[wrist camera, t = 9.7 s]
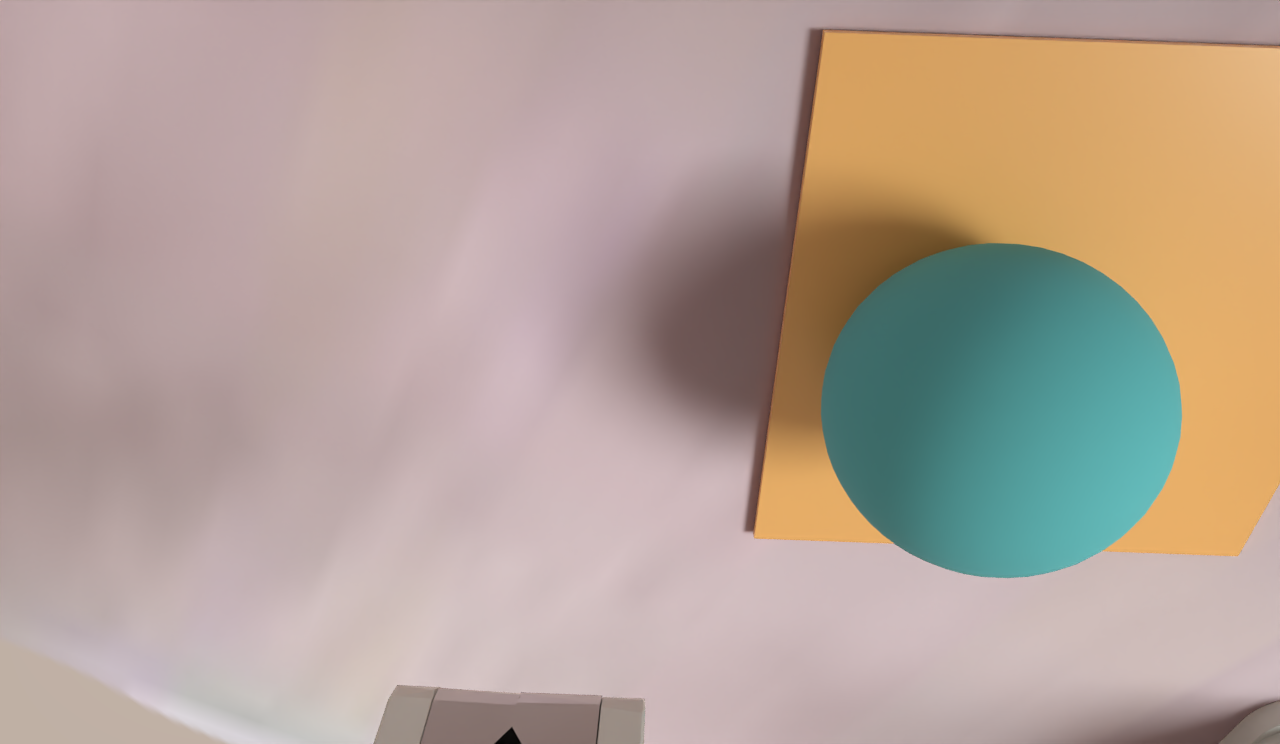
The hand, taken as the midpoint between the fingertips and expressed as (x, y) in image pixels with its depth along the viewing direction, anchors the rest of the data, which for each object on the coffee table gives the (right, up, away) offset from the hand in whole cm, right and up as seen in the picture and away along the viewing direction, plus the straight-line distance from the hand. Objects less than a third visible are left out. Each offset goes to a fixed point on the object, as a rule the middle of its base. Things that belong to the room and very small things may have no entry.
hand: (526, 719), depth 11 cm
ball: (+8, +4, +5) cm, 10 cm away
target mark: (+10, +5, +8) cm, 14 cm away
